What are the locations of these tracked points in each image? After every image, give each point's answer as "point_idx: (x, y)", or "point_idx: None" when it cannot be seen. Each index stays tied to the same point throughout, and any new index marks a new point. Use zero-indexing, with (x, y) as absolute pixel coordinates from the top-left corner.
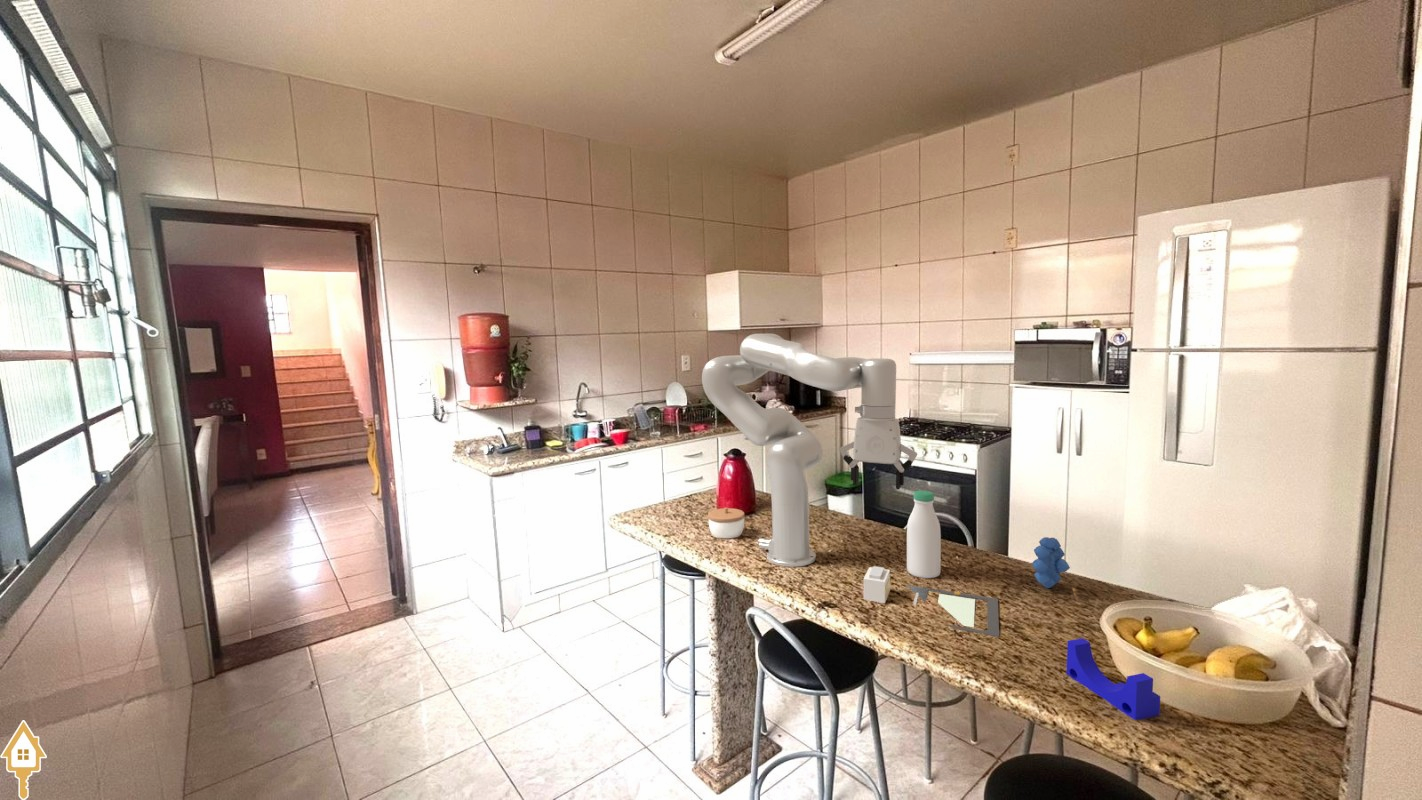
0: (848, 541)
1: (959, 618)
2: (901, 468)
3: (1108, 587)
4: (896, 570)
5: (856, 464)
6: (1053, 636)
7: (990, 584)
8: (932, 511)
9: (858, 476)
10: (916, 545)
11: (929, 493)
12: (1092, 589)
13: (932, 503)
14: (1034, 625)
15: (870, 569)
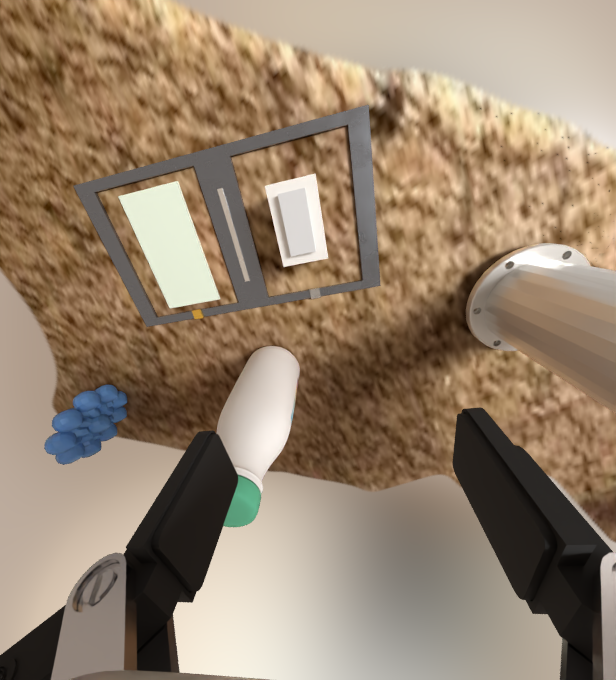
0: (424, 427)
1: (151, 218)
2: (89, 602)
3: None
4: (314, 355)
5: (577, 627)
6: (33, 243)
7: (180, 371)
8: None
9: (472, 499)
10: (264, 376)
11: None
12: None
13: None
14: (69, 266)
15: (320, 244)
